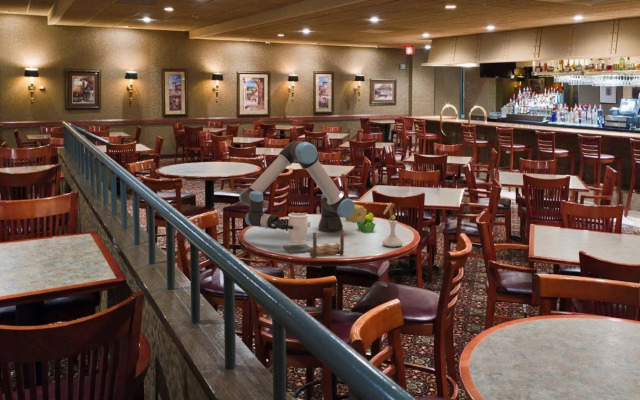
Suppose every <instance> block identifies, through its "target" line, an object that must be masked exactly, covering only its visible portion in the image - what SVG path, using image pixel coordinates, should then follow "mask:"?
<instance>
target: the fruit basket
mask: <svg viewBox="0 0 640 400" xmlns="http://www.w3.org/2000/svg"><path fill="white" fill-rule="evenodd" d="M364 218H365V221H360V222H357V223H356V225H357V228H358V229H357V230H358V231H360V230H361V231H360V232H363V231H365V232H369V233H373V232H374V229H375V227H376V223H374V222H373V221H374V213H373V212H367V214H366V216H365V217H364ZM372 231H373V232H372ZM365 232H364V233H365Z"/></svg>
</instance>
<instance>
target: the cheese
mask: <svg viewBox="0 0 640 400" xmlns="http://www.w3.org/2000/svg"><path fill="white" fill-rule="evenodd" d="M354 206H355V208H354V212H353V213H352V215H351V216H349V217H347V218H345V221H346V220H347V221H346V222H349V221H353V222H352V223H354V222H360V221H365V218H364V217H365V216H366V215H367V214H368V210H367V209H366V208H365V207H364V206H363V205H359V204H354Z"/></svg>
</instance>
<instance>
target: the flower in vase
mask: <svg viewBox="0 0 640 400" xmlns="http://www.w3.org/2000/svg"><path fill="white" fill-rule="evenodd" d="M391 205H392V202H389V203H388V205H387V206H386V208H385V209H384V211H383V215H386V214H387V212H388V211H389V213H390V215H391V216H390V217H389V218H388V223H389V226H390V233H389V235H388V236H386V237H385V238H384V239H383V240H382V242H381V243H382V244H383V246H386V247H389V248H390V247H393V248H395V247H396V246H397V247H400V246H402V245H403V241H402V239H400V237H399V236H397V235H396V230H395V229H396V225H397V223H398V221H397V220H395V219H396V216H395V214H392V211H391V209H390V207H391Z"/></svg>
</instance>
